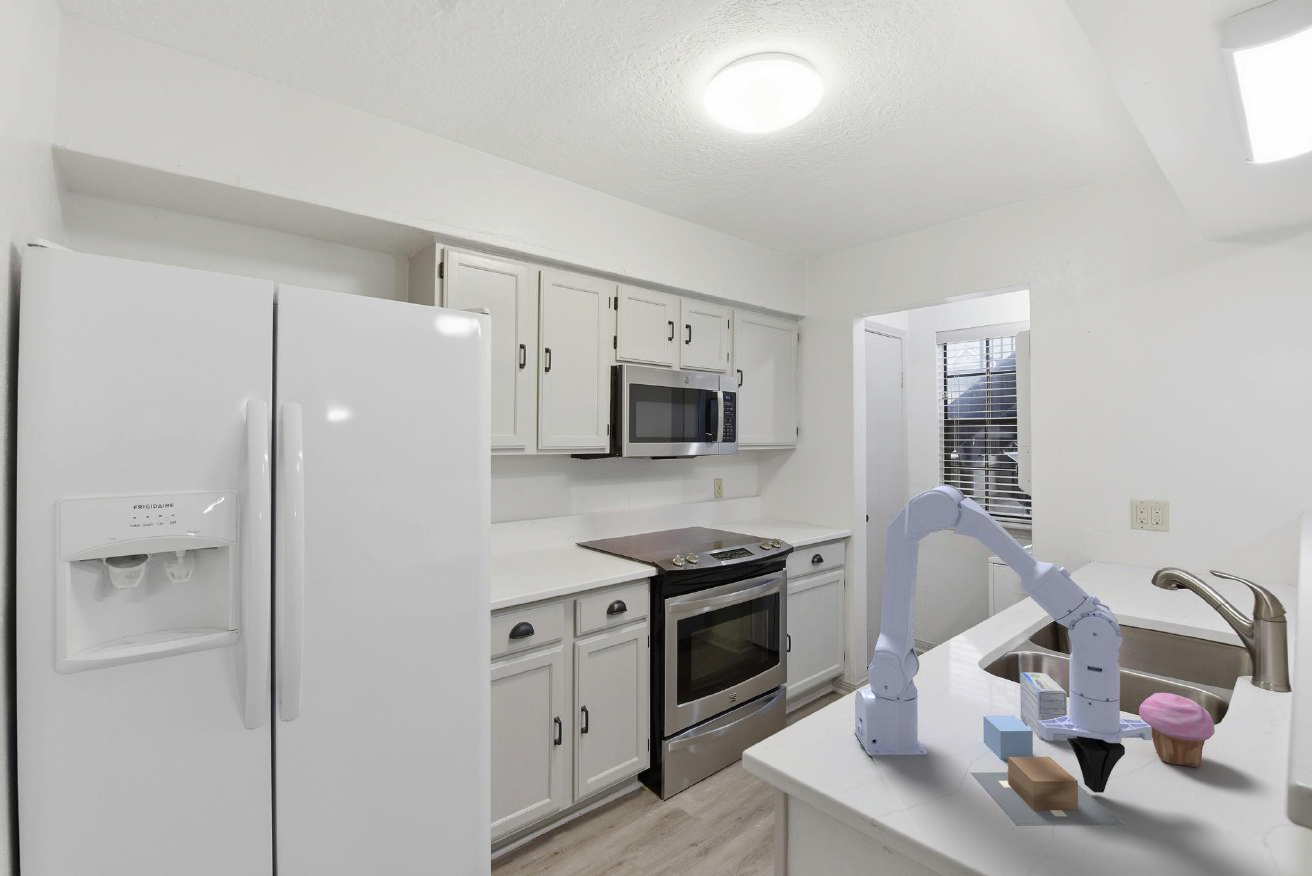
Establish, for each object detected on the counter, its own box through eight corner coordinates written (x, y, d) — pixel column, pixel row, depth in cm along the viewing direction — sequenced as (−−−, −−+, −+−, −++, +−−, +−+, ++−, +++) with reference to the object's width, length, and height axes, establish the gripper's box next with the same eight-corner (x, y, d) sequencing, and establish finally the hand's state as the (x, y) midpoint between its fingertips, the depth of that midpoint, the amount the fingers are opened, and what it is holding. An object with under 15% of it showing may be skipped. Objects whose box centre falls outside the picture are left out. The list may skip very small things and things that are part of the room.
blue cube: (1000, 762, 94) (1000, 731, 94) (983, 745, 99) (983, 715, 99) (1032, 762, 94) (1032, 730, 94) (1014, 745, 99) (1014, 715, 99)
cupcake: (1151, 768, 92) (1152, 703, 91) (1130, 740, 100) (1130, 681, 99) (1226, 780, 88) (1226, 713, 88) (1198, 750, 96) (1198, 688, 96)
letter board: (1016, 828, 79) (1016, 825, 79) (970, 775, 91) (970, 772, 91) (1124, 828, 78) (1124, 824, 78) (1063, 774, 90) (1063, 771, 90)
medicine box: (1068, 744, 99) (1068, 692, 99) (1038, 741, 100) (1038, 690, 100) (1047, 721, 107) (1047, 672, 106) (1019, 719, 108) (1019, 671, 107)
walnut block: (1033, 810, 81) (1033, 781, 81) (1008, 784, 87) (1008, 756, 87) (1077, 810, 81) (1077, 781, 81) (1049, 783, 87) (1049, 756, 87)
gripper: (1060, 706, 80) (1060, 806, 80) (1170, 705, 80) (1170, 806, 80) (1028, 683, 87) (1028, 775, 87) (1129, 682, 87) (1129, 775, 87)
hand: (1094, 788), depth 84 cm, fingers closed
